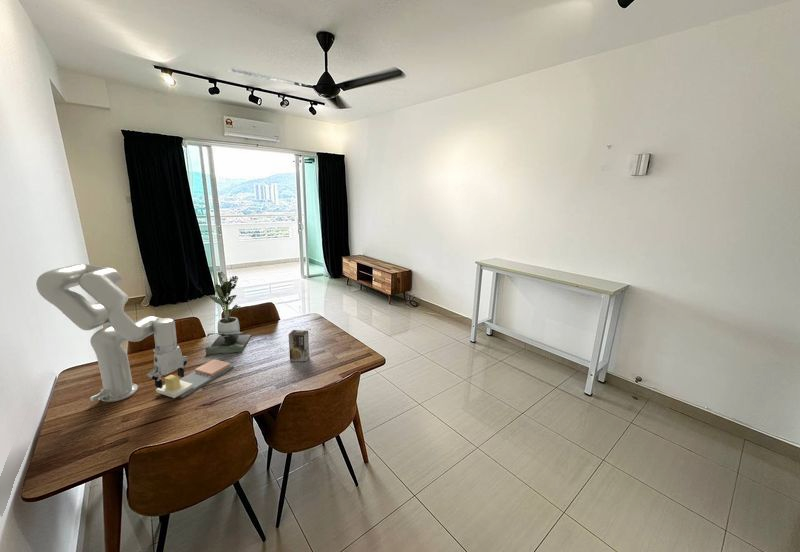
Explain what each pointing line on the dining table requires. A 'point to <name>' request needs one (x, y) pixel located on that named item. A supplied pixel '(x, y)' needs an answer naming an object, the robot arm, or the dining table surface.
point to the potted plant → (227, 322)
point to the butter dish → (174, 386)
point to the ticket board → (199, 380)
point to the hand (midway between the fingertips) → (170, 381)
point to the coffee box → (299, 345)
